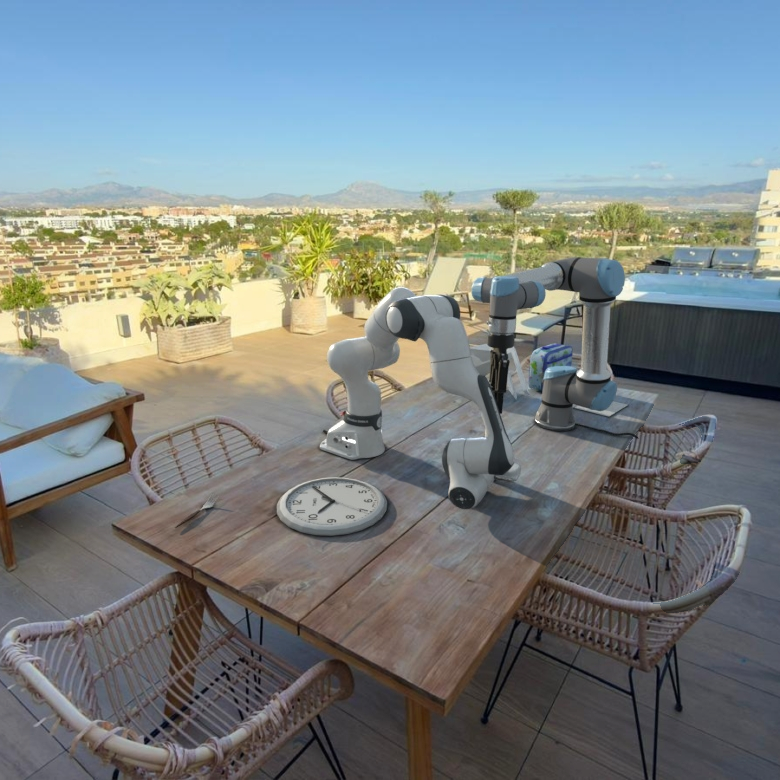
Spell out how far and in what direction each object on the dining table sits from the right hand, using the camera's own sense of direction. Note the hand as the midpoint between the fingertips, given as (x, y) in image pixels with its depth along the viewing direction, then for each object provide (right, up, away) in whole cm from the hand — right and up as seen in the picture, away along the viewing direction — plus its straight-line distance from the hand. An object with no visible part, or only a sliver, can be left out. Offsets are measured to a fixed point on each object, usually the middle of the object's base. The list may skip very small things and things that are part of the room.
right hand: (495, 410), depth 155 cm
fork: (-82, -27, -18) cm, 88 cm away
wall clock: (-47, -25, -12) cm, 55 cm away
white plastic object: (+10, +5, +89) cm, 89 cm away
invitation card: (+60, -1, +72) cm, 94 cm away
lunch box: (+45, +7, +97) cm, 108 cm away
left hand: (0, -14, +5) cm, 15 cm away
